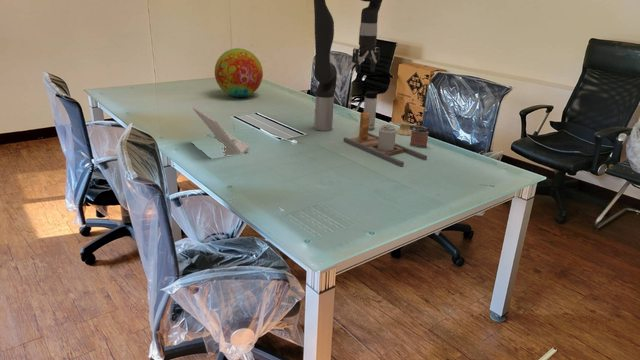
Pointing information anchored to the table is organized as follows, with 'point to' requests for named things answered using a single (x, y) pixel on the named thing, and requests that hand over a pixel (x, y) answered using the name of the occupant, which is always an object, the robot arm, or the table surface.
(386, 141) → the can
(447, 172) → the table surface
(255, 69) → the globe
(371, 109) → the travel mug
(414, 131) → the lighter
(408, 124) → the hand bell
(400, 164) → the rail
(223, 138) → the tablet stand
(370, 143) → the brown post on base
